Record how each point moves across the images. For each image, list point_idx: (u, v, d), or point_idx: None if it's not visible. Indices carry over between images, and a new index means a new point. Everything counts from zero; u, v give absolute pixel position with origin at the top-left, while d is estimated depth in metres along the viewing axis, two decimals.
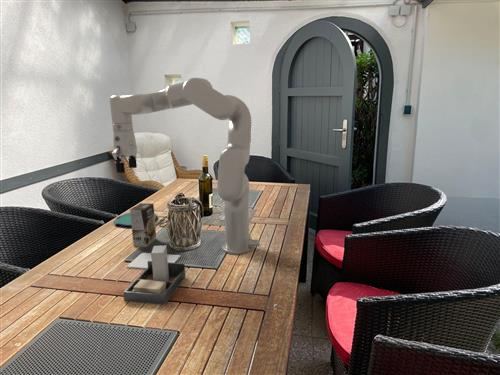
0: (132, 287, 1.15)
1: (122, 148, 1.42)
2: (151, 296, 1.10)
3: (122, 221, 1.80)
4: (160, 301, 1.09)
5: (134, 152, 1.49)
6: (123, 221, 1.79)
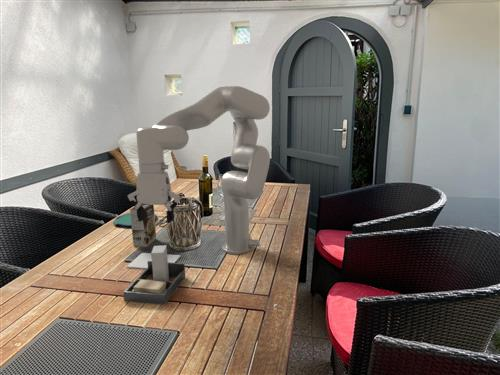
0: (132, 287, 1.15)
1: (170, 191, 1.16)
2: (151, 296, 1.10)
3: (122, 221, 1.79)
4: (160, 301, 1.09)
5: None
6: (123, 221, 1.79)
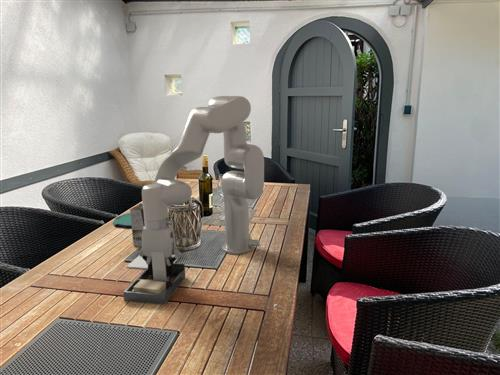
0: (132, 287, 1.15)
1: (175, 243, 1.20)
2: (151, 296, 1.10)
3: (121, 221, 1.79)
4: (160, 301, 1.09)
5: None
6: (122, 222, 1.79)
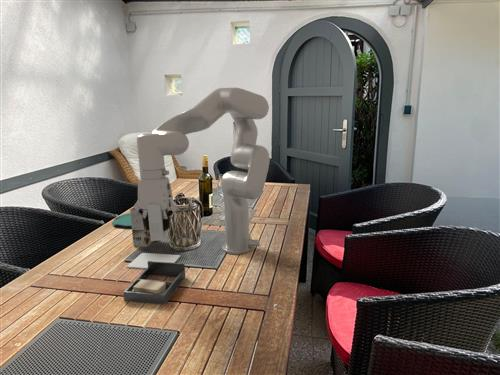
0: (132, 287, 1.15)
1: (172, 196, 1.16)
2: (151, 296, 1.10)
3: (121, 222, 1.79)
4: (160, 301, 1.09)
5: None
6: (122, 222, 1.78)
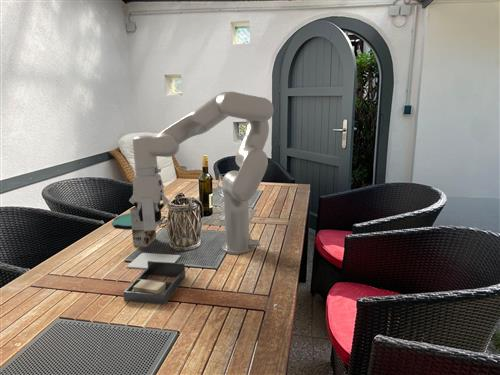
0: (132, 287, 1.15)
1: (163, 191, 1.32)
2: (151, 296, 1.10)
3: (120, 222, 1.78)
4: (160, 301, 1.09)
5: None
6: (121, 222, 1.78)
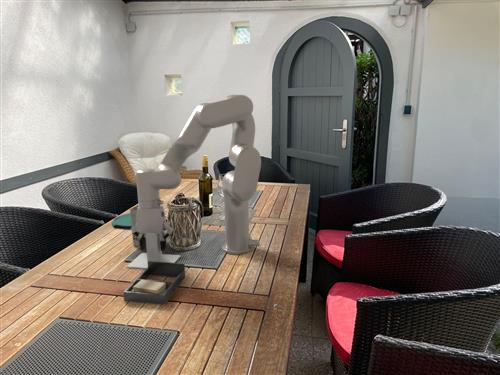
0: (132, 287, 1.15)
1: (165, 222, 1.34)
2: (151, 296, 1.10)
3: (120, 222, 1.78)
4: (160, 301, 1.09)
5: None
6: (121, 222, 1.78)
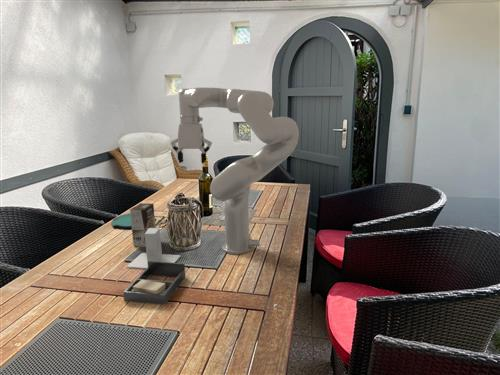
0: (132, 287, 1.15)
1: None
2: (151, 296, 1.10)
3: (119, 223, 1.77)
4: (160, 301, 1.09)
5: None
6: (120, 223, 1.77)
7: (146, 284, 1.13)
